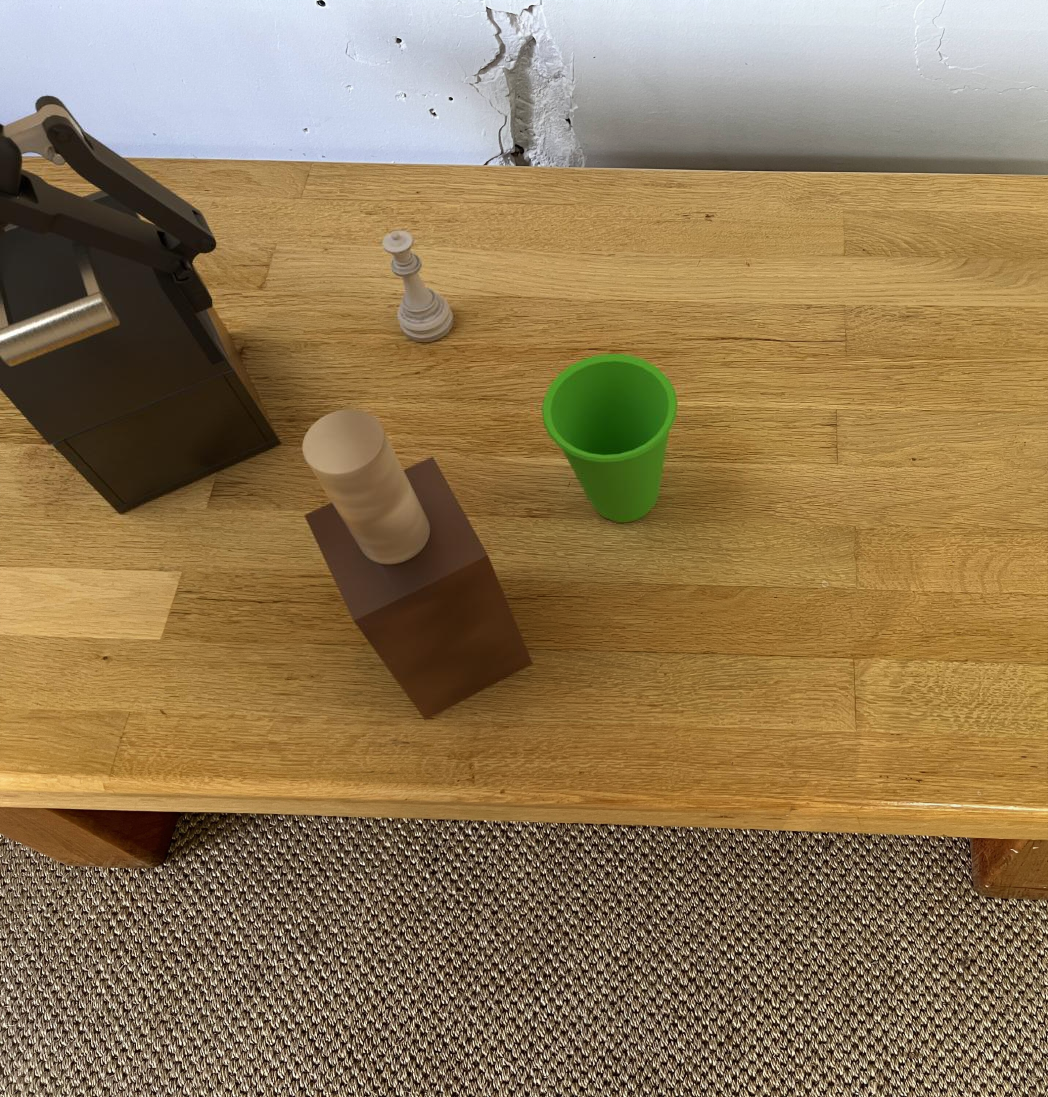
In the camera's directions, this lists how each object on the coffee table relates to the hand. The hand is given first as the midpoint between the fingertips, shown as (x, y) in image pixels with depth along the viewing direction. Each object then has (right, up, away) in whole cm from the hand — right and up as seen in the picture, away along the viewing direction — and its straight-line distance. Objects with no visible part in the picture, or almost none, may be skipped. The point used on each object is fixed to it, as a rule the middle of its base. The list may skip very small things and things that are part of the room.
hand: (102, 392), depth 60 cm
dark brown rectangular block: (+18, -16, +11) cm, 26 cm away
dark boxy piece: (-7, +1, +21) cm, 22 cm away
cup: (+29, -5, +18) cm, 34 cm away
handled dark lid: (-4, +5, +5) cm, 9 cm away
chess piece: (+11, +10, +26) cm, 30 cm away
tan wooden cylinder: (+18, -8, -2) cm, 20 cm away
